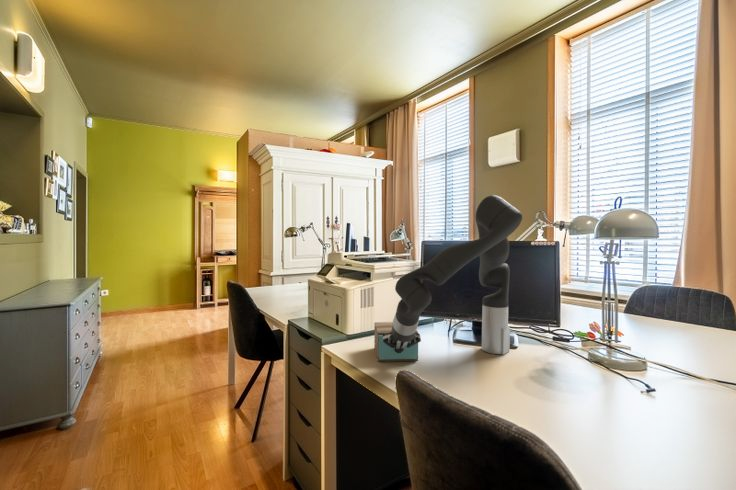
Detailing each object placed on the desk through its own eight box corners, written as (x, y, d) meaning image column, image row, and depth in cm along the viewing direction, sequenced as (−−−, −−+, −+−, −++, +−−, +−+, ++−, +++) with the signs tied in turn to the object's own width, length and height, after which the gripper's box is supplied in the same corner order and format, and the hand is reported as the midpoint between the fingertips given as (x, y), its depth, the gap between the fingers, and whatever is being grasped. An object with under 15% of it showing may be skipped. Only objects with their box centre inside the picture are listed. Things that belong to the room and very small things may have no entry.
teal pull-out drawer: (418, 359, 123) (418, 335, 123) (379, 360, 122) (379, 336, 122) (410, 346, 137) (410, 325, 137) (375, 347, 136) (375, 325, 136)
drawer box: (417, 360, 125) (418, 332, 125) (378, 361, 124) (378, 333, 124) (410, 347, 139) (410, 321, 139) (374, 348, 138) (374, 322, 138)
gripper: (384, 335, 107) (380, 361, 120) (428, 334, 108) (419, 360, 121) (382, 313, 112) (378, 341, 125) (424, 313, 113) (415, 340, 126)
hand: (398, 350), depth 123 cm, fingers closed
